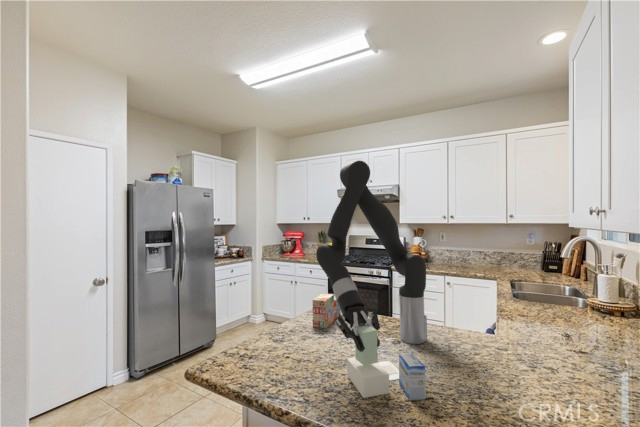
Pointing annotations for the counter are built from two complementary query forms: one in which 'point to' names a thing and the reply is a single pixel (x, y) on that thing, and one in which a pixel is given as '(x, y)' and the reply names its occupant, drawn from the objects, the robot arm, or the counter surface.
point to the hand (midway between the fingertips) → (370, 348)
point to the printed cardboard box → (325, 310)
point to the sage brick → (367, 346)
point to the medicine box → (412, 376)
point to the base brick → (368, 378)
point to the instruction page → (390, 370)
